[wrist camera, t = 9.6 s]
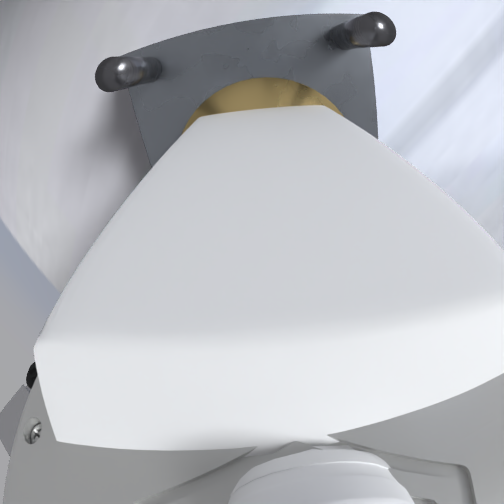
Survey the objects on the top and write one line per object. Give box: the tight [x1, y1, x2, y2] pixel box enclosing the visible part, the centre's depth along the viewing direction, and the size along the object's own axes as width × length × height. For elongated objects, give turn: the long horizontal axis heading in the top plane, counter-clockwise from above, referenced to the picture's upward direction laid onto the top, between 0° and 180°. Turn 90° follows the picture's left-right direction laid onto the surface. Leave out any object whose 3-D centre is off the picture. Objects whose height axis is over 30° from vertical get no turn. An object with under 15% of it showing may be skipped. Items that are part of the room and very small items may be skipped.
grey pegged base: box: [95, 12, 396, 167], centre depth 17 cm, size 18×14×9 cm
